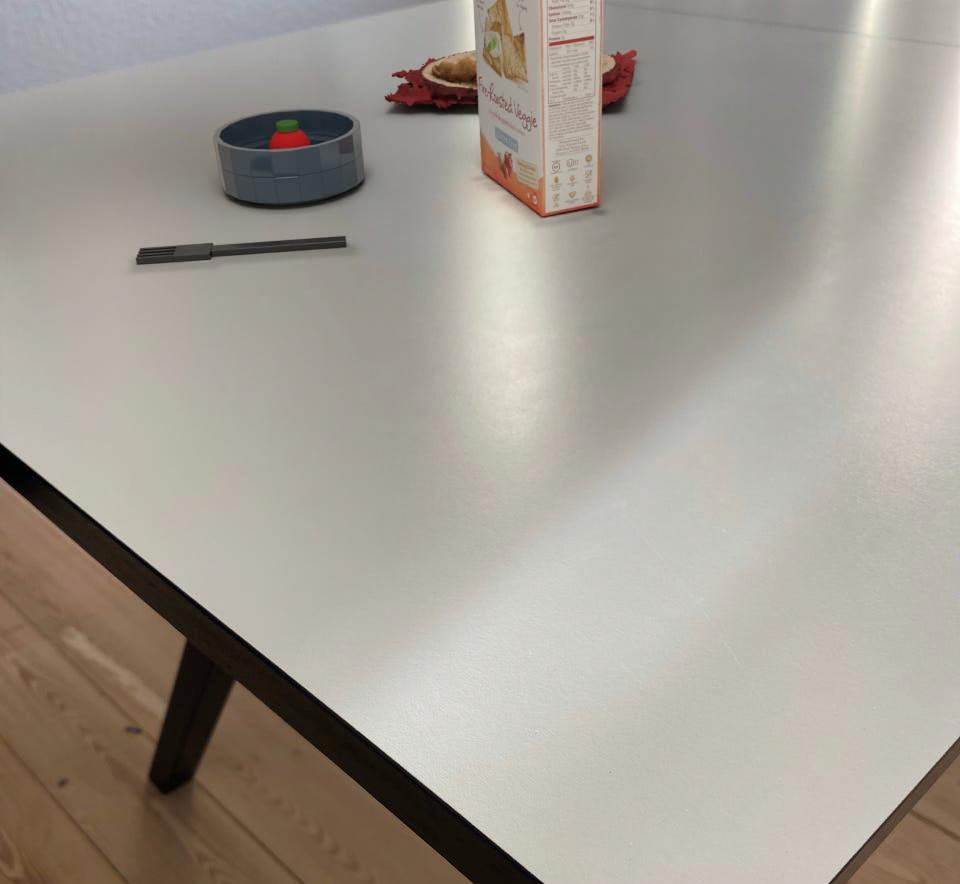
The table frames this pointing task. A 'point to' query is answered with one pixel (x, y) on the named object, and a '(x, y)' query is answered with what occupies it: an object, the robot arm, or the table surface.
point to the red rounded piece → (288, 136)
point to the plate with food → (459, 80)
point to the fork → (231, 249)
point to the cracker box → (541, 99)
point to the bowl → (290, 157)
